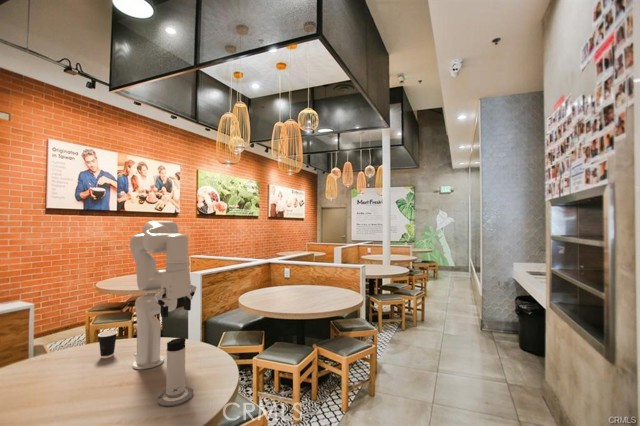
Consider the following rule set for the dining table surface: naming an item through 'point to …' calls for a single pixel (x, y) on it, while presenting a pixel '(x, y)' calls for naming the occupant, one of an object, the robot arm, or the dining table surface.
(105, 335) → the dixie cup
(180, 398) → the gray rimmed disc
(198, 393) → the dining table surface
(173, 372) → the travel mug
